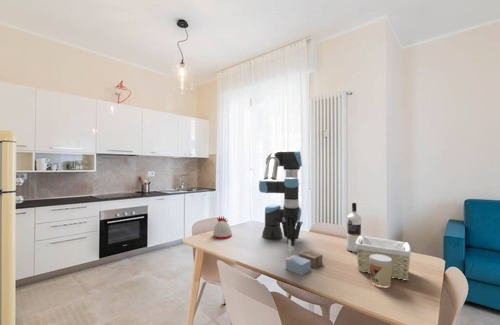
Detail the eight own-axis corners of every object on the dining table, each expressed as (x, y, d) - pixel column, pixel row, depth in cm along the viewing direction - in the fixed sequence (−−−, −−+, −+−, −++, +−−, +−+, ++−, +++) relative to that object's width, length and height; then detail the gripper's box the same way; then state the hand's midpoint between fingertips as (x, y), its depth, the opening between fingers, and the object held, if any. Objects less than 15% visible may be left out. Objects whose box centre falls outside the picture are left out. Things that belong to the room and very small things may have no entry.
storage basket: (354, 271, 121) (354, 242, 121) (358, 260, 135) (358, 234, 135) (411, 284, 108) (411, 252, 108) (409, 270, 122) (409, 242, 122)
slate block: (294, 255, 129) (310, 260, 122) (294, 264, 129) (310, 270, 122) (285, 259, 124) (301, 265, 116) (285, 268, 124) (301, 275, 116)
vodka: (365, 251, 148) (365, 203, 148) (353, 253, 145) (353, 204, 145) (354, 247, 157) (354, 201, 157) (342, 248, 153) (343, 202, 154)
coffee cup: (364, 279, 113) (365, 253, 113) (383, 278, 113) (383, 253, 113) (377, 289, 103) (377, 261, 103) (397, 288, 104) (397, 261, 104)
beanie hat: (216, 233, 186) (216, 213, 186) (233, 233, 184) (233, 214, 184) (210, 238, 172) (211, 217, 172) (229, 239, 170) (229, 218, 171)
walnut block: (306, 249, 137) (322, 254, 130) (306, 258, 137) (322, 263, 130) (298, 253, 132) (314, 258, 125) (298, 262, 132) (314, 268, 125)
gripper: (277, 206, 128) (276, 249, 128) (297, 209, 119) (297, 256, 119) (285, 204, 133) (285, 246, 133) (305, 207, 124) (305, 253, 124)
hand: (290, 251), depth 126 cm, fingers closed
